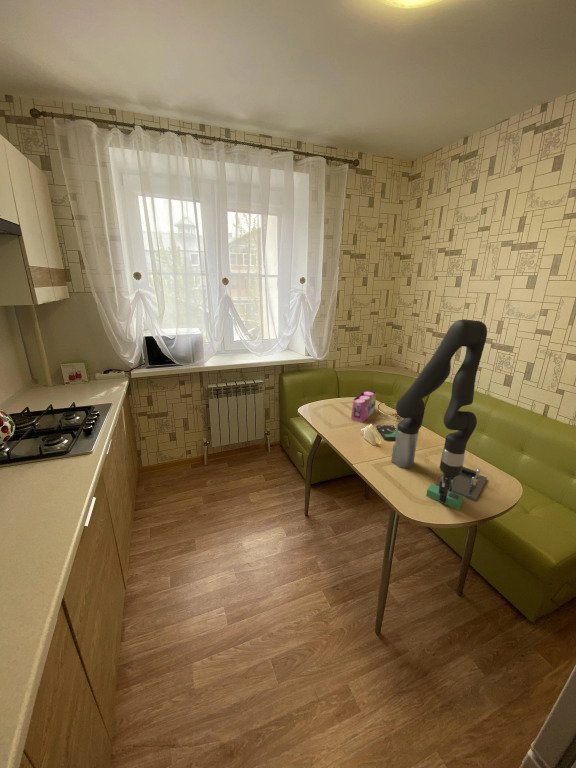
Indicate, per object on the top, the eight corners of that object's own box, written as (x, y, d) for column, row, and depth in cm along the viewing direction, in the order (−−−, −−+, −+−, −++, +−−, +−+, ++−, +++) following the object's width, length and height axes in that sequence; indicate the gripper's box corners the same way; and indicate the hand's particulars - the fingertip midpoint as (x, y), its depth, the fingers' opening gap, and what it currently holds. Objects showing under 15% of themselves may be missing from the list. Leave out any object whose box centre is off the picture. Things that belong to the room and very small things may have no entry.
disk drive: (375, 429, 185) (384, 441, 171) (376, 425, 185) (385, 436, 170) (392, 429, 186) (403, 441, 172) (393, 425, 185) (403, 436, 171)
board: (426, 495, 127) (427, 488, 126) (430, 489, 131) (432, 482, 130) (458, 509, 119) (460, 502, 118) (462, 502, 123) (464, 495, 122)
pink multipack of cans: (361, 423, 192) (364, 402, 188) (349, 420, 196) (351, 400, 192) (374, 411, 211) (376, 392, 207) (363, 408, 215) (365, 389, 211)
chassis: (435, 485, 134) (438, 472, 132) (450, 466, 148) (452, 454, 146) (475, 501, 124) (478, 487, 122) (486, 479, 138) (489, 466, 136)
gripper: (447, 450, 127) (440, 485, 132) (435, 464, 117) (428, 502, 122) (468, 456, 122) (460, 493, 127) (457, 472, 112) (449, 511, 117)
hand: (444, 497), depth 125 cm, fingers closed on board, 5 cm apart
